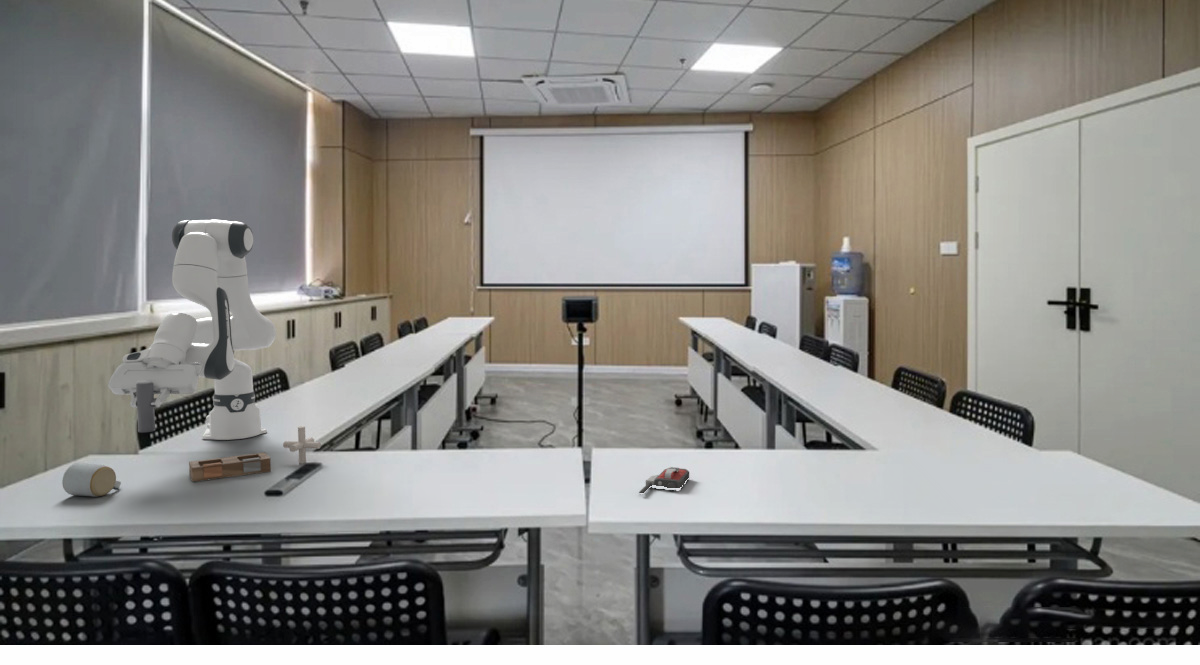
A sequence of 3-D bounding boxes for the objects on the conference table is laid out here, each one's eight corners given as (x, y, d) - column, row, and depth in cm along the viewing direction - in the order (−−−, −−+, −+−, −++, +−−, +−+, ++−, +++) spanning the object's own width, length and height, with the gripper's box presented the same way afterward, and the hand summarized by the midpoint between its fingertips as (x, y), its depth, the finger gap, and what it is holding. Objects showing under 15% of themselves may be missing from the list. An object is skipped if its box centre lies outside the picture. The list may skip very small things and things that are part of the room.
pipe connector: (328, 458, 200) (327, 423, 199) (310, 467, 190) (309, 431, 189) (294, 457, 201) (293, 423, 200) (275, 466, 191) (274, 430, 190)
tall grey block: (137, 430, 177) (135, 380, 176) (154, 428, 179) (152, 379, 178) (138, 432, 174) (136, 382, 173) (155, 431, 176) (153, 381, 175)
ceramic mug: (92, 500, 161) (91, 467, 160) (61, 499, 162) (60, 466, 162) (130, 488, 171) (130, 457, 171) (101, 486, 172) (100, 455, 172)
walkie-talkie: (658, 476, 184) (636, 498, 165) (658, 460, 183) (636, 480, 164) (691, 480, 181) (672, 502, 162) (691, 463, 180) (672, 483, 161)
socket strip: (189, 475, 183) (189, 460, 182) (265, 464, 193) (264, 451, 193) (192, 482, 176) (192, 467, 175) (271, 471, 186) (270, 457, 186)
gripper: (209, 369, 188) (192, 412, 179) (128, 370, 186) (107, 413, 177) (200, 354, 183) (183, 398, 174) (117, 355, 181) (95, 399, 172)
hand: (144, 406), depth 176 cm, fingers closed on tall grey block, 4 cm apart
